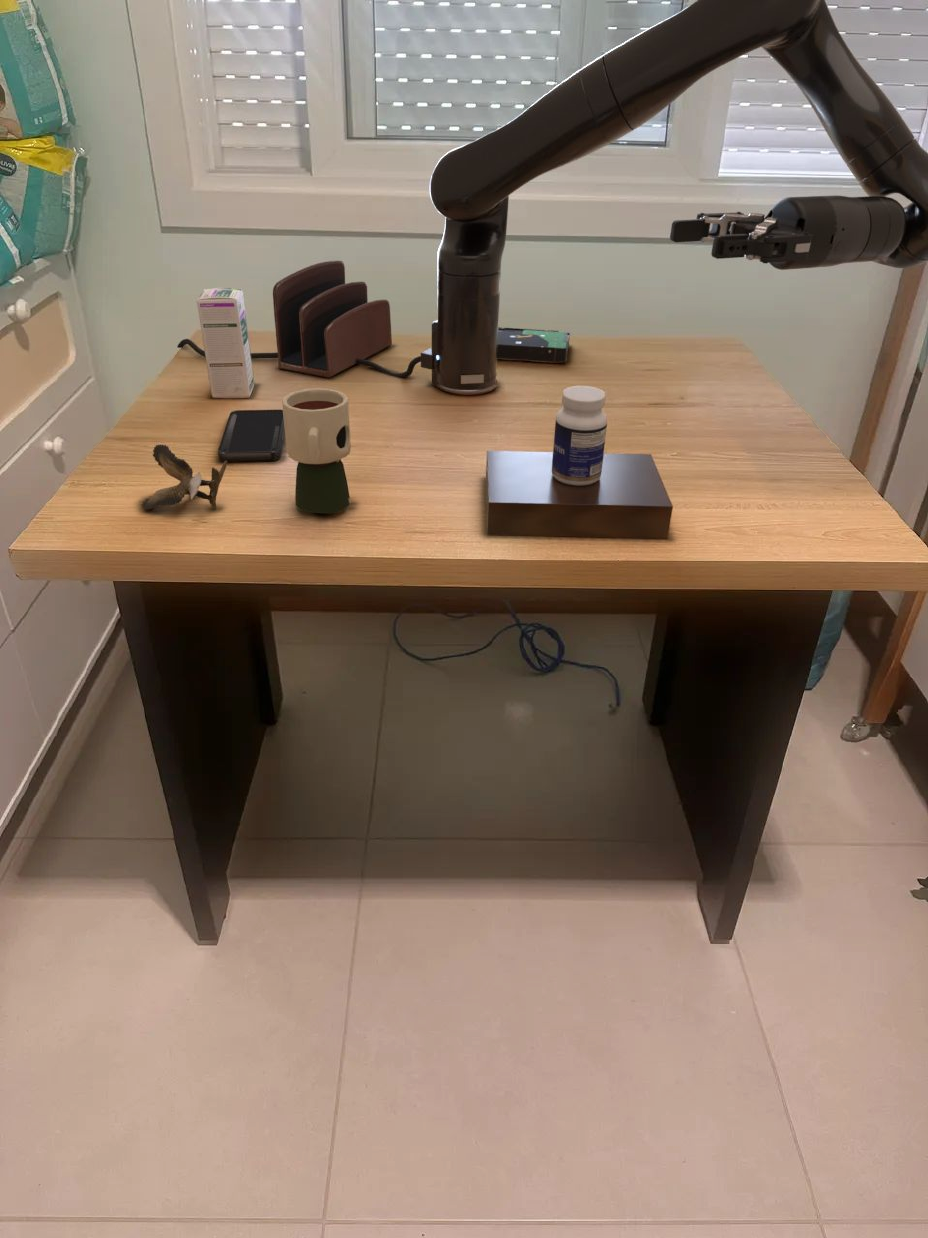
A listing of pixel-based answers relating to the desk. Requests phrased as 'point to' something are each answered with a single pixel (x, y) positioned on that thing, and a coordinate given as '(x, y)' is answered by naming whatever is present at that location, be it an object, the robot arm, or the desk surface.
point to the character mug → (318, 447)
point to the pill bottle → (579, 436)
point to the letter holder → (327, 321)
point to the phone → (253, 436)
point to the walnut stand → (575, 498)
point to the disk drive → (532, 345)
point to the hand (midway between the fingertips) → (692, 238)
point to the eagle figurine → (182, 481)
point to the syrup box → (226, 342)
